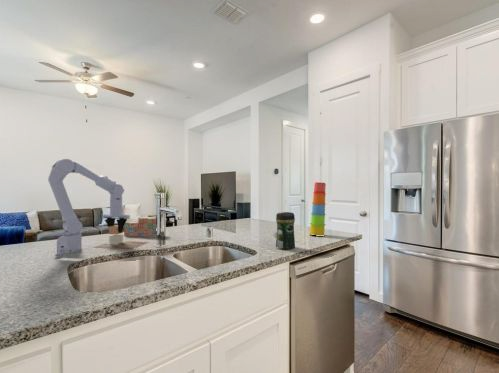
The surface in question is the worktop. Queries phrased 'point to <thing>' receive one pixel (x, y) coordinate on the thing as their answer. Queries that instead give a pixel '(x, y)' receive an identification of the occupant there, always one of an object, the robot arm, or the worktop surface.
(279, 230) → the coffee jar
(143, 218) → the stack of blocks
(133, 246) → the build board
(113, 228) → the terracotta brick
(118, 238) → the cream brick
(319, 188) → the stacking cups
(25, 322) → the worktop surface
